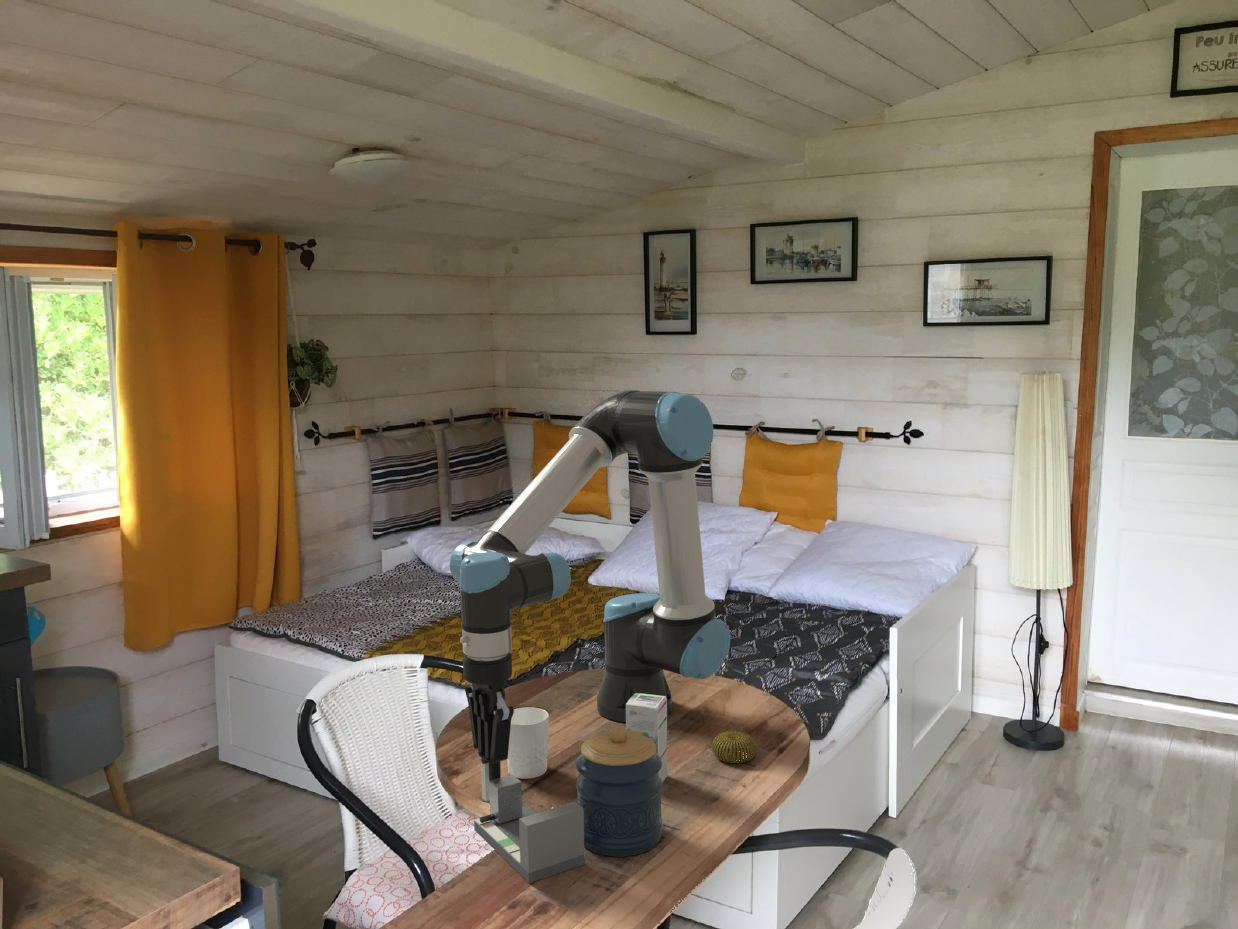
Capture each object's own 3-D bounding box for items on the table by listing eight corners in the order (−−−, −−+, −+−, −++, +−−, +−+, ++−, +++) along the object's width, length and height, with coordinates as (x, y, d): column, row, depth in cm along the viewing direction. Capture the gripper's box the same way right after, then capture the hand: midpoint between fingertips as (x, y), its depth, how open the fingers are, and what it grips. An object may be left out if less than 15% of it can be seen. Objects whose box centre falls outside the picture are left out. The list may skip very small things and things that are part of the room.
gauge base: (474, 830, 157) (472, 778, 155) (526, 814, 161) (525, 763, 160) (529, 883, 142) (527, 826, 140) (584, 864, 146) (583, 808, 145)
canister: (559, 839, 154) (556, 727, 151) (616, 807, 163) (614, 702, 161) (623, 869, 145) (621, 751, 143) (680, 834, 155) (679, 723, 152)
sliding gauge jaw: (476, 820, 156) (475, 785, 155) (513, 809, 159) (512, 774, 159) (485, 828, 154) (483, 792, 153) (522, 816, 157) (521, 781, 156)
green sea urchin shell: (715, 746, 177) (708, 728, 185) (715, 768, 177) (708, 749, 185) (761, 744, 177) (752, 726, 185) (760, 766, 178) (752, 747, 186)
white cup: (543, 782, 173) (541, 726, 171) (498, 779, 174) (496, 723, 173) (555, 762, 180) (553, 708, 179) (512, 759, 182) (510, 706, 180)
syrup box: (668, 775, 174) (667, 694, 172) (658, 790, 169) (657, 707, 167) (636, 771, 176) (635, 691, 174) (625, 786, 171) (624, 703, 169)
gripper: (448, 646, 161) (453, 788, 164) (482, 670, 150) (487, 820, 153) (491, 638, 165) (495, 776, 168) (528, 660, 154) (532, 807, 157)
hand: (491, 797), depth 161 cm, fingers closed
